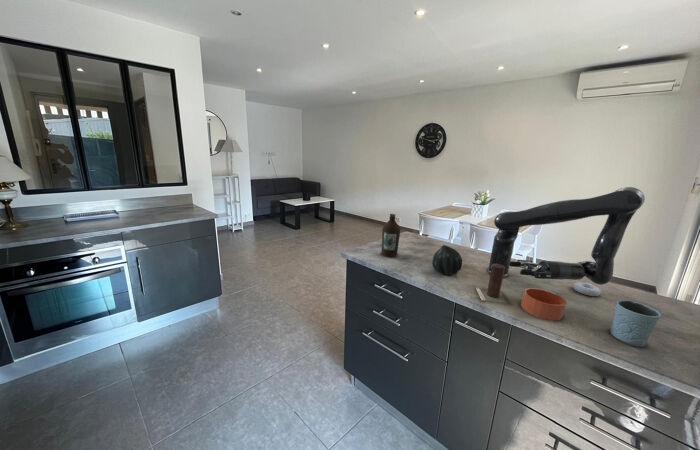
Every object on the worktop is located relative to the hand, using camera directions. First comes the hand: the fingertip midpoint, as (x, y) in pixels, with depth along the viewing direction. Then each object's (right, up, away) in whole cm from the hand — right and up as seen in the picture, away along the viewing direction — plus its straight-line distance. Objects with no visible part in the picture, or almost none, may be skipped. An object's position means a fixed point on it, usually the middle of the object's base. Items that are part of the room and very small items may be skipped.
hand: (515, 267), depth 112 cm
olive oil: (-46, 0, +49) cm, 67 cm away
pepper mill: (-8, -13, +4) cm, 15 cm away
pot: (+6, -16, -6) cm, 18 cm away
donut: (+40, -14, +11) cm, 44 cm away
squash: (-20, -7, +27) cm, 34 cm away
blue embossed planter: (+25, -21, -21) cm, 39 cm away
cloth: (-8, -13, +4) cm, 16 cm away
